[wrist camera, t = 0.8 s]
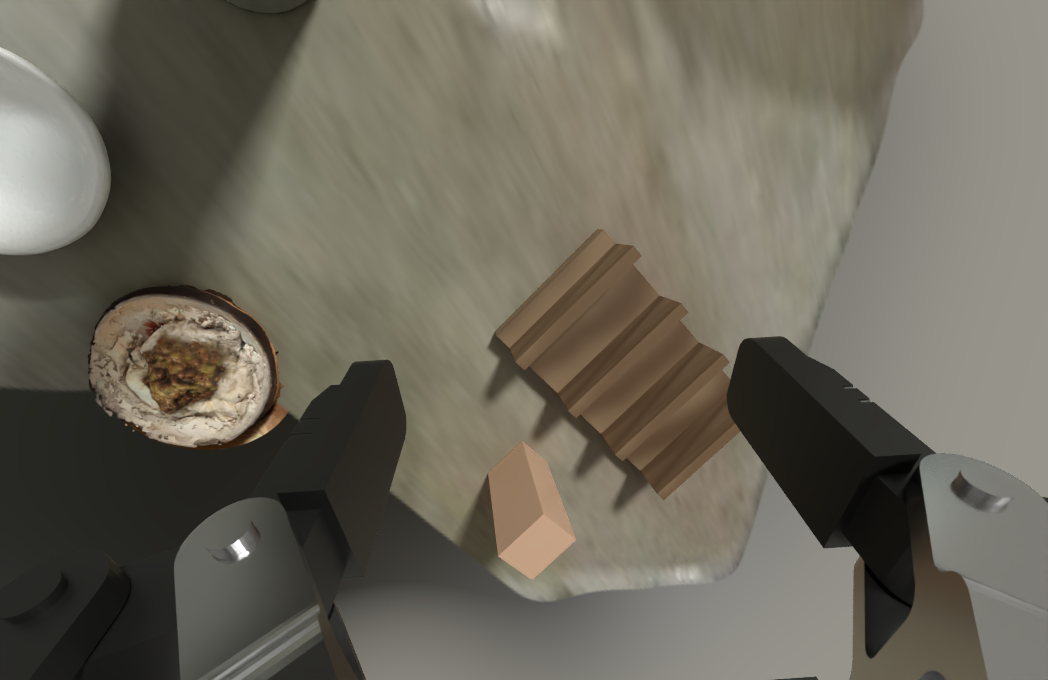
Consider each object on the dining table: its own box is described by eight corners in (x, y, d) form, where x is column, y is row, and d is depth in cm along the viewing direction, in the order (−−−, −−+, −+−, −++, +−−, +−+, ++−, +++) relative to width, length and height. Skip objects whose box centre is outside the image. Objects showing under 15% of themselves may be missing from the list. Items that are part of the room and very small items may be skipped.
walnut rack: (495, 331, 34) (500, 348, 30) (597, 229, 33) (620, 230, 29) (648, 476, 41) (673, 509, 36) (737, 394, 40) (775, 417, 35)
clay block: (487, 473, 38) (498, 556, 29) (521, 440, 38) (543, 514, 28) (513, 493, 39) (531, 580, 30) (547, 462, 39) (576, 539, 29)
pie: (144, 224, 29) (94, 224, 25) (337, 340, 33) (321, 356, 29) (49, 385, 31) (-12, 410, 27) (244, 475, 35) (217, 508, 31)
